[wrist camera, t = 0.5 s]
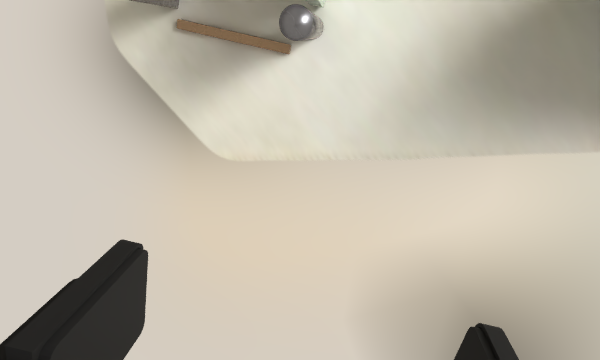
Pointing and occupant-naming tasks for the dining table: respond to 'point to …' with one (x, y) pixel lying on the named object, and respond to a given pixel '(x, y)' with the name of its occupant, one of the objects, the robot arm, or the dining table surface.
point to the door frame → (292, 23)
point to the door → (316, 2)
